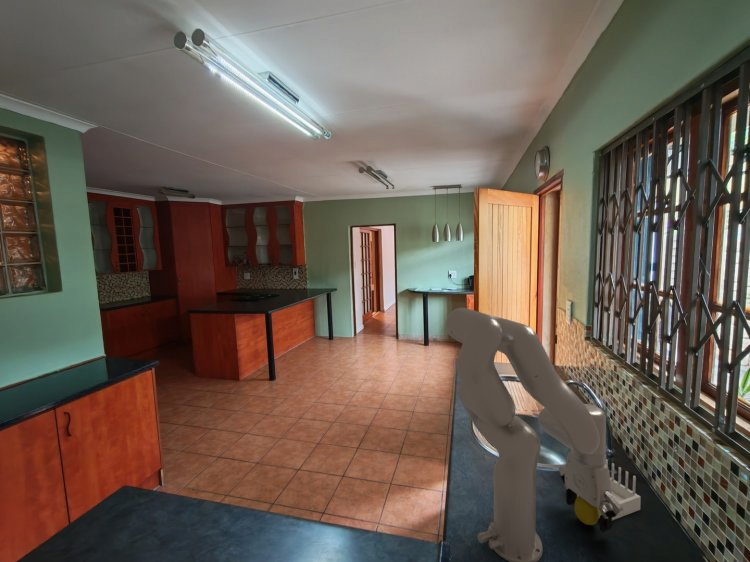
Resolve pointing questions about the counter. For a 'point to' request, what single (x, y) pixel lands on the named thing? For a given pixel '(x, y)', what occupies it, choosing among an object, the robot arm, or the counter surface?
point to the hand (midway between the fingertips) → (587, 515)
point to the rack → (623, 494)
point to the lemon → (586, 511)
